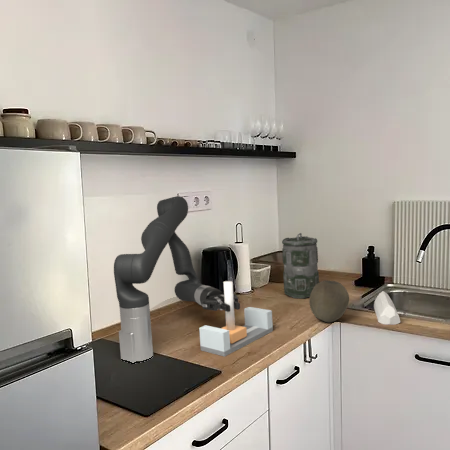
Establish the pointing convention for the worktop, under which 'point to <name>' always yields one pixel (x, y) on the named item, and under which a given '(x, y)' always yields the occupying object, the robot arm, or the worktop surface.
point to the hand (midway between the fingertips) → (234, 307)
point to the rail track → (256, 328)
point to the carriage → (232, 315)
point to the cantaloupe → (329, 300)
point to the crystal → (386, 310)
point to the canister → (300, 266)
